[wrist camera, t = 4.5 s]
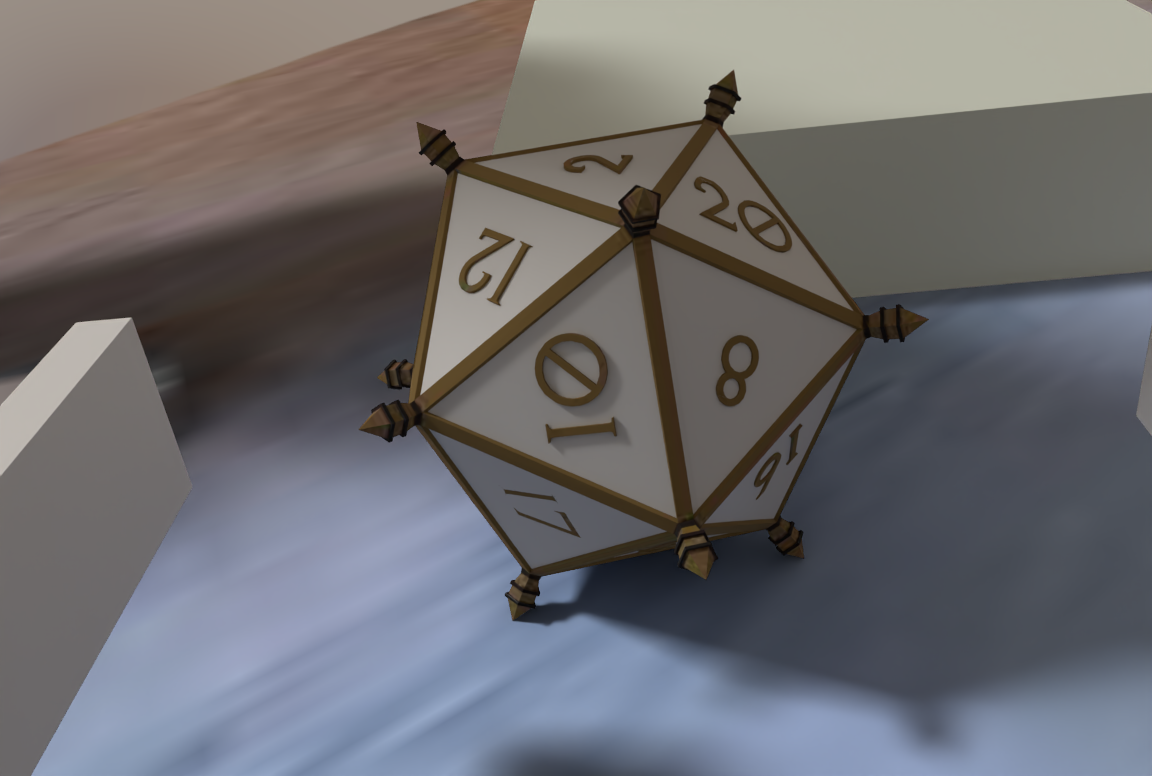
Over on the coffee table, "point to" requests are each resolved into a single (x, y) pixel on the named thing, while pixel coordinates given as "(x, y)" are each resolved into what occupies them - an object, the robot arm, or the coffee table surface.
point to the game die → (625, 346)
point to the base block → (884, 122)
